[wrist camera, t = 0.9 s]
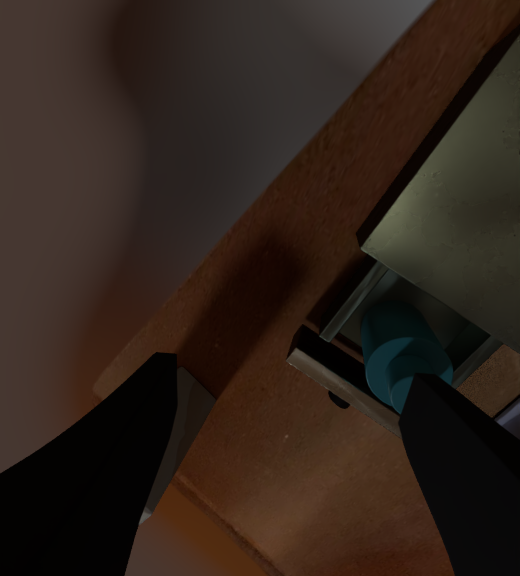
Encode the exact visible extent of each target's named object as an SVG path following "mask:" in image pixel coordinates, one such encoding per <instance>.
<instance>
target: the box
mask: <svg viewBox="0 0 520 576" xmlns="http://www.w3.org/2000/svg"><path fill="white" fill-rule="evenodd" d="M177 391H178V407H177V412H176V416H175V420H174V424H173V428H172V432H171V436H170V440H169V443H168V445H167V448H166V451H165V454H164V456H163V459H162V462H161V465H160V467H159V470H158V473H157V476H156V478H155V481H154V484H153V486H152V489H151V492H150V495H149V497H148V500H147V503H146V505H145V508H144V511H143V514H142V516H141V519H140V522H139V525H140V524H141V523H142V522H144V521H145V520H146V519H147V518H148V517H150V516H151V515H152V513H153V511H154V510H155V507H156V506H157V504H158V502H159V501H160V499H161V497H162V495H163V494H164V491H165V490H166V488H167V487H168V485H169V483H170V481H171V480H172V478H173V476H174V474H175V473H176V471H177V469H178V467H179V466H180V464H181V462H182V460H183V459H184V457H185V455H186V453H187V452H188V450H189V448H190V446H191V444H192V443H193V441H194V439H195V438H196V436H197V434H198V432H199V431H200V429H201V427H202V425H203V424H204V422H205V420H206V418H207V416H208V415H209V413H210V411H211V409H212V408H213V406H214V404H215V402H216V399H215V398H214V397H213V396H212V395H211V394H210V393H209V392H208V391H207V390H206V389H205V388H204V387H203V386H202V385H201V384H200V383H199V382H198V381H197V380H196V379H195V378H194V377H193V376H192V375H191V374H190V373H189V372H188V371H187V370H186V369H185V368H184V367H179V368H178V369H177Z"/></svg>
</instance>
